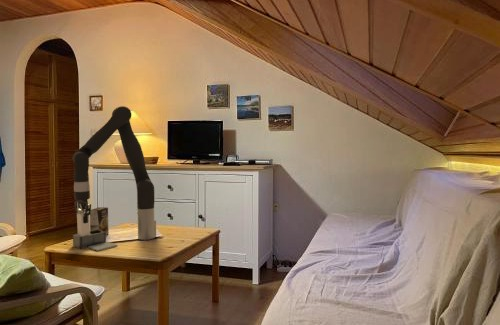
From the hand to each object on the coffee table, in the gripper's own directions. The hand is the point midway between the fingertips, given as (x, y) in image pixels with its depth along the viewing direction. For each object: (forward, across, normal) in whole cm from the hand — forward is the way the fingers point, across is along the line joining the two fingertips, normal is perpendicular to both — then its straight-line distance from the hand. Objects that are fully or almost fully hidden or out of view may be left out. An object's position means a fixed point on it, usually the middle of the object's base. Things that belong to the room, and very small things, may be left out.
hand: (83, 222), depth 200 cm
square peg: (+7, 0, 0) cm, 7 cm away
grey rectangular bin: (+13, 0, -3) cm, 13 cm away
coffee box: (+13, +12, -15) cm, 23 cm away
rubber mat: (+13, -10, -5) cm, 17 cm away
